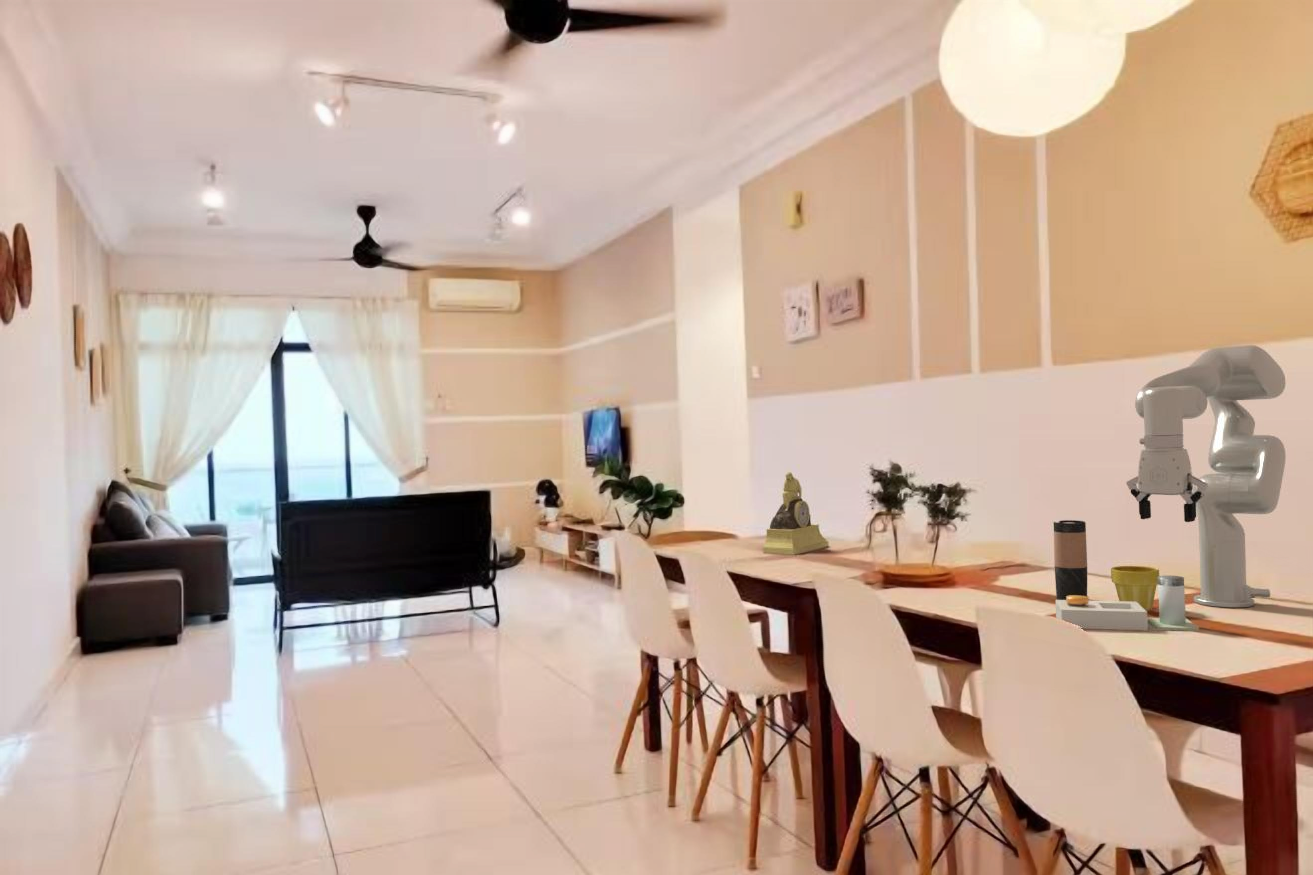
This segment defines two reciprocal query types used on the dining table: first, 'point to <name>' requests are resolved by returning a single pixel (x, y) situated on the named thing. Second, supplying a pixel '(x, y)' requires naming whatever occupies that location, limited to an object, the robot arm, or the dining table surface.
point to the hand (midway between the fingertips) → (1167, 519)
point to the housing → (1104, 615)
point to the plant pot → (1136, 584)
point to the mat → (1186, 627)
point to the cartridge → (1171, 600)
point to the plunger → (1077, 600)
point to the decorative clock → (793, 524)
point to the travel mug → (1070, 558)
